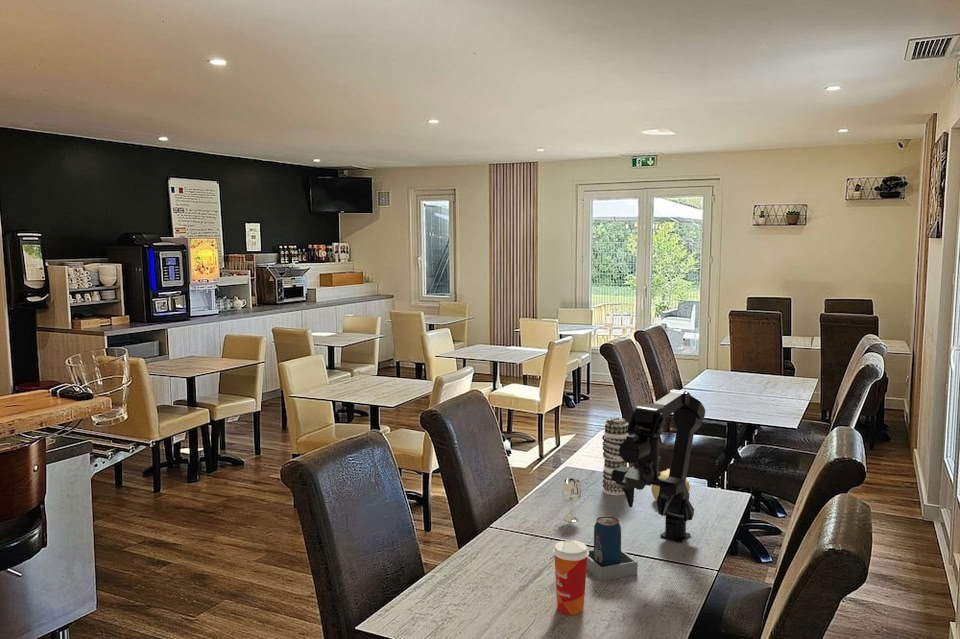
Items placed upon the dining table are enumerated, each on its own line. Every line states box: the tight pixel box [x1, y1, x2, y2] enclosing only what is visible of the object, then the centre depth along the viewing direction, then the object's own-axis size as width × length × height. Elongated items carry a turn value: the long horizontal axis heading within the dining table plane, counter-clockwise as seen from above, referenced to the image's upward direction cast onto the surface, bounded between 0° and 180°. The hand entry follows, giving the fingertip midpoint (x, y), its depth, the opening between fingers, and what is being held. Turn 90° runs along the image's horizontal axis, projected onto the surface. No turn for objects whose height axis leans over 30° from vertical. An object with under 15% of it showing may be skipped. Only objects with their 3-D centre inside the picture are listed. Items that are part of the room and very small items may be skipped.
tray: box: [586, 548, 639, 582], centre depth 185 cm, size 11×11×3 cm
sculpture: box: [650, 468, 691, 502], centre depth 231 cm, size 11×12×11 cm
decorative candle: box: [601, 416, 630, 496], centre depth 241 cm, size 9×9×25 cm
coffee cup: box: [552, 539, 589, 616], centre depth 165 cm, size 8×8×15 cm
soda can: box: [593, 515, 622, 567], centre depth 185 cm, size 7×7×12 cm
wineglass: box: [561, 478, 582, 523], centre depth 218 cm, size 6×6×12 cm
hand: (646, 511), depth 190 cm, fingers open, 9 cm apart
